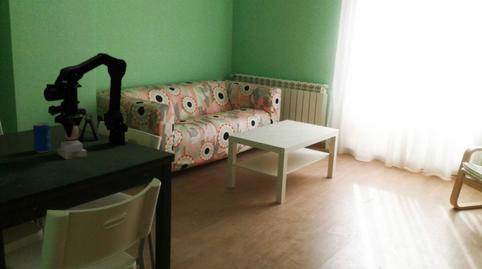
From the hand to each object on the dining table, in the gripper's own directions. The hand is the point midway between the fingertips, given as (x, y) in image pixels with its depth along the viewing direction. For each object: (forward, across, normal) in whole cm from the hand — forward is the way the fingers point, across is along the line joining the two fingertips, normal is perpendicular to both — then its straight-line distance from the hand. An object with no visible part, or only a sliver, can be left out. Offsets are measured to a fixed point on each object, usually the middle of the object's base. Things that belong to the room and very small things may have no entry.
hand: (71, 135), depth 187 cm
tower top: (+6, 0, 0) cm, 6 cm away
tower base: (+9, 0, 0) cm, 9 cm away
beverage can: (+9, -3, -14) cm, 17 cm away
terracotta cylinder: (+1, 0, 0) cm, 1 cm away
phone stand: (+9, -27, -3) cm, 28 cm away
